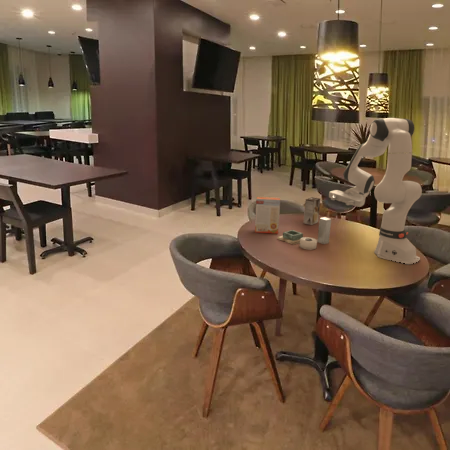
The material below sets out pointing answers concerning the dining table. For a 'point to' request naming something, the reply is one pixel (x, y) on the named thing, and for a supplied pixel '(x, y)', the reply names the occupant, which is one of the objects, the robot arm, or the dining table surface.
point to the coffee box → (311, 210)
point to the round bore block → (308, 243)
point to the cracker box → (267, 215)
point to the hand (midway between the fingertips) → (339, 201)
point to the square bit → (324, 230)
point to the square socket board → (291, 237)
